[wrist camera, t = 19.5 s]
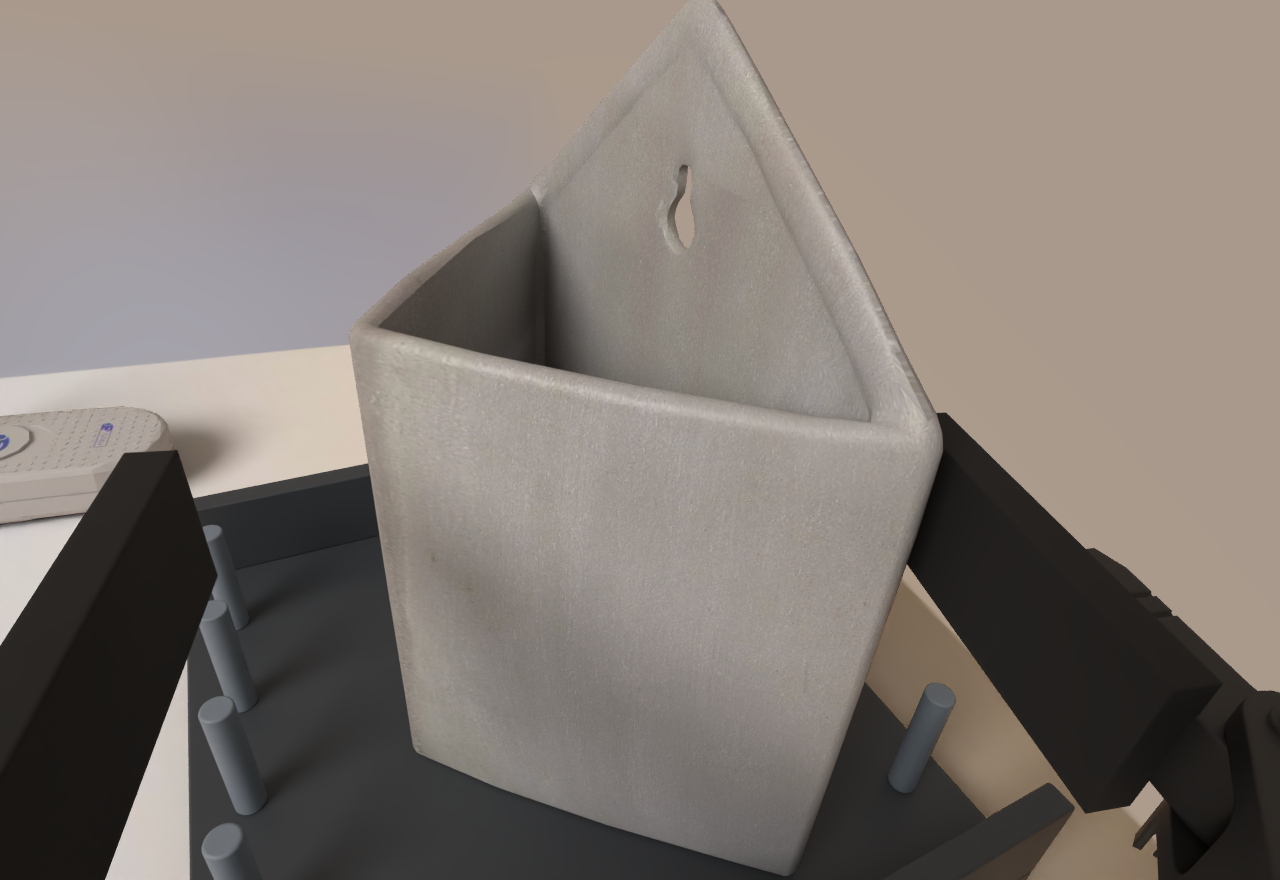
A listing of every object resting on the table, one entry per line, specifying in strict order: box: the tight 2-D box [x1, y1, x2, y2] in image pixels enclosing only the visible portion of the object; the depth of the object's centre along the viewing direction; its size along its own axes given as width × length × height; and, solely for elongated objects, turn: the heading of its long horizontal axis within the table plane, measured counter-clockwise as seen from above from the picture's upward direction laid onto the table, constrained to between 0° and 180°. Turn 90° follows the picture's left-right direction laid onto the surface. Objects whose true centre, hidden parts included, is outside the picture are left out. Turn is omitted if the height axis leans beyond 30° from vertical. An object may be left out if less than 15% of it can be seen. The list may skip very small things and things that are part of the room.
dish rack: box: [187, 464, 1075, 880], centre depth 23 cm, size 20×21×6 cm
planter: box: [349, 0, 943, 876], centre depth 18 cm, size 16×8×19 cm, turn 31°
